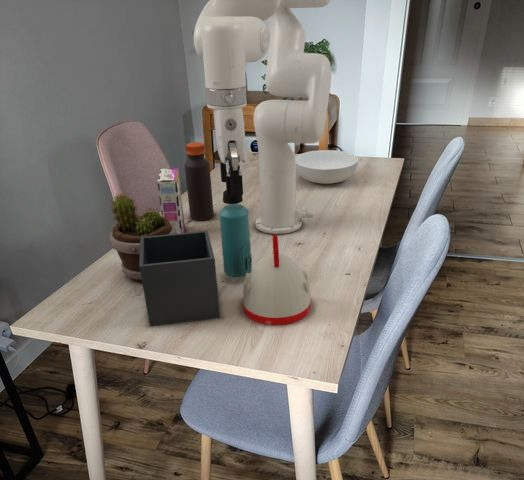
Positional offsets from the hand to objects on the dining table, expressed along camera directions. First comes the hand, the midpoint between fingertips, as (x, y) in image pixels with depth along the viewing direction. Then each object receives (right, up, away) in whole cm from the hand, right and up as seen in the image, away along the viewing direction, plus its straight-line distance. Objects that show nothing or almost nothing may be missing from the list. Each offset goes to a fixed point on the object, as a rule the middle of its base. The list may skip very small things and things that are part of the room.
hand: (231, 188), depth 110 cm
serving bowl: (+27, +23, +68) cm, 77 cm away
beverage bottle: (+1, -17, +12) cm, 21 cm away
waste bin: (-10, -24, +3) cm, 26 cm away
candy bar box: (-17, -3, +33) cm, 37 cm away
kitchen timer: (+9, -24, +1) cm, 26 cm away
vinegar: (-11, +5, +44) cm, 46 cm away
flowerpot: (-20, -15, +15) cm, 30 cm away
